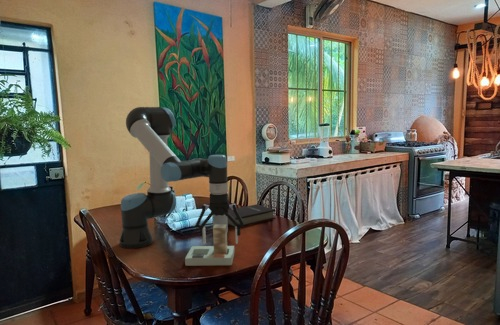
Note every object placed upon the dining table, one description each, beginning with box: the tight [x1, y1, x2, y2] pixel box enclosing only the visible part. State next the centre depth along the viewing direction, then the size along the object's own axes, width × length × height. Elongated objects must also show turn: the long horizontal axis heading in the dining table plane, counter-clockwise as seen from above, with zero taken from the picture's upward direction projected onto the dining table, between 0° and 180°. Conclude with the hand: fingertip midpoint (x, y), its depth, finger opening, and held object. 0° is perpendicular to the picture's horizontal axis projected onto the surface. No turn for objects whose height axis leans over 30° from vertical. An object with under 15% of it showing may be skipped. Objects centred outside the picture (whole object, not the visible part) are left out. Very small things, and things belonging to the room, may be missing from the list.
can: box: [212, 214, 229, 233], centre depth 177 cm, size 8×8×12 cm
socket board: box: [184, 245, 235, 267], centre depth 145 cm, size 19×14×4 cm
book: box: [227, 203, 276, 229], centre depth 201 cm, size 28×20×6 cm
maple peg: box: [212, 224, 228, 255], centre depth 144 cm, size 5×5×14 cm
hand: (220, 243), depth 144 cm, fingers open, 13 cm apart
